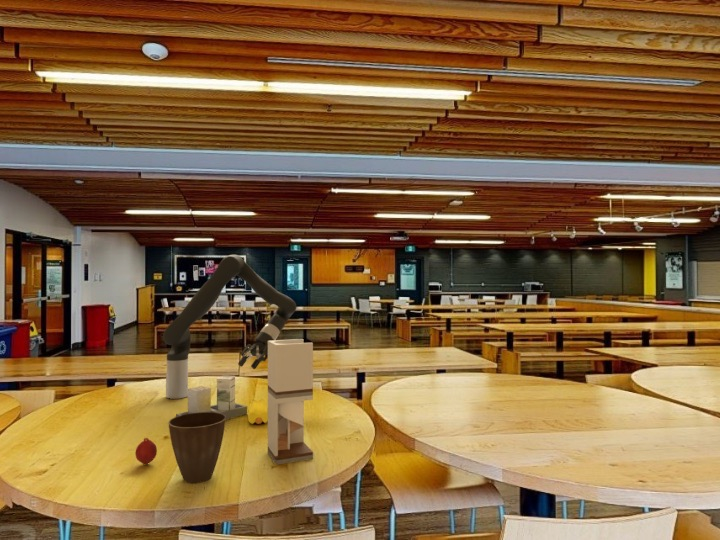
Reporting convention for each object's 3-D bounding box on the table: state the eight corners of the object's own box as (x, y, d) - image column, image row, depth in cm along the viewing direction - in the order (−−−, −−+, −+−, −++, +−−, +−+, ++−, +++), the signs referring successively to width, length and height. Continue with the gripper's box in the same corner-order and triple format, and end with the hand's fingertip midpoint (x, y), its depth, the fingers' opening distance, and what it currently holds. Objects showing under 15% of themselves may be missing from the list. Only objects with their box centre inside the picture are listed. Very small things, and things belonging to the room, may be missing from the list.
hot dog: (248, 427, 177) (269, 425, 179) (248, 409, 177) (269, 407, 179) (248, 413, 195) (267, 412, 196) (248, 397, 195) (267, 396, 196)
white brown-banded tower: (275, 464, 141) (275, 345, 142) (267, 452, 151) (267, 340, 151) (312, 458, 146) (312, 342, 146) (302, 447, 155) (302, 338, 156)
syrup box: (235, 411, 196) (235, 375, 196) (230, 415, 190) (230, 378, 190) (222, 410, 196) (222, 375, 197) (216, 414, 191) (216, 378, 191)
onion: (139, 461, 144) (139, 434, 144) (159, 460, 144) (159, 433, 145) (132, 468, 138) (132, 440, 138) (152, 468, 139) (153, 440, 139)
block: (187, 420, 183) (187, 388, 183) (201, 416, 188) (201, 386, 188) (196, 423, 179) (196, 391, 180) (210, 419, 184) (210, 388, 184)
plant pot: (155, 484, 128) (155, 423, 128) (193, 464, 142) (194, 409, 142) (201, 493, 122) (201, 430, 123) (236, 471, 136) (236, 414, 137)
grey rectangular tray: (176, 422, 183) (176, 414, 183) (228, 408, 201) (228, 401, 201) (194, 428, 175) (194, 420, 175) (247, 413, 194) (247, 406, 194)
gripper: (252, 329, 213) (230, 359, 204) (273, 332, 204) (252, 363, 195) (261, 340, 217) (240, 370, 208) (283, 343, 208) (262, 374, 199)
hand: (246, 366), depth 201 cm, fingers open, 8 cm apart
